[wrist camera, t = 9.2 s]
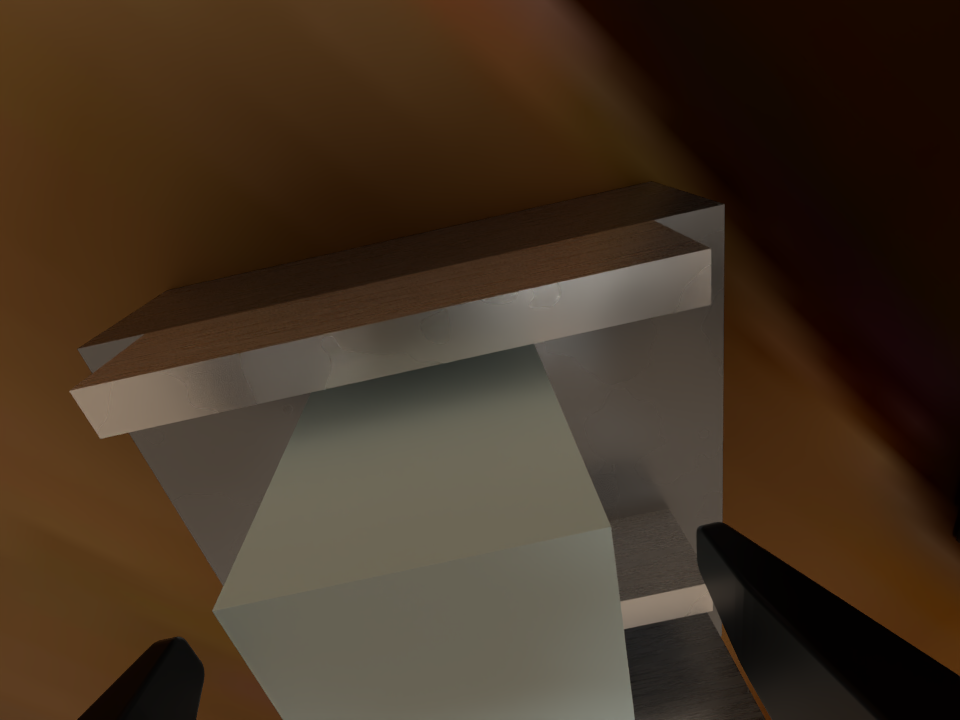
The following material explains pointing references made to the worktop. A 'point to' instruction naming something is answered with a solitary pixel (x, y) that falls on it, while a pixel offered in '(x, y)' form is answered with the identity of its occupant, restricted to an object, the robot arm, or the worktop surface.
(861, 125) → the worktop surface
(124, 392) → the base
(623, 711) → the block
